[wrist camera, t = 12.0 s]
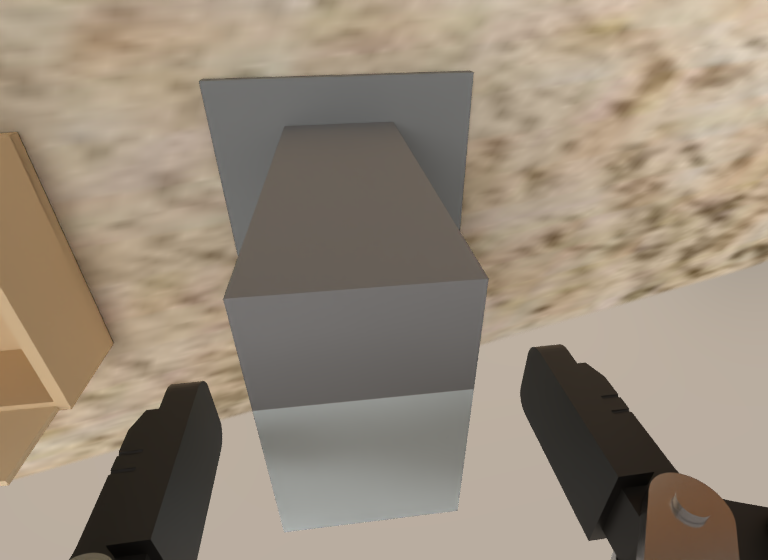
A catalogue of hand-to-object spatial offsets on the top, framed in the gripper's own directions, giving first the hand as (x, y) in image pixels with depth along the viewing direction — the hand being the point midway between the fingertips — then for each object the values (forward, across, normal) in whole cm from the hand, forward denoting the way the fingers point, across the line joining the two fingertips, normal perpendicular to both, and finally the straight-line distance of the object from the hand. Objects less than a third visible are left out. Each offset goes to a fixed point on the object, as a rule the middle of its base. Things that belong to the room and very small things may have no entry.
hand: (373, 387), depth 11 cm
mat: (+14, 0, +1) cm, 14 cm away
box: (+13, 0, +1) cm, 13 cm away
